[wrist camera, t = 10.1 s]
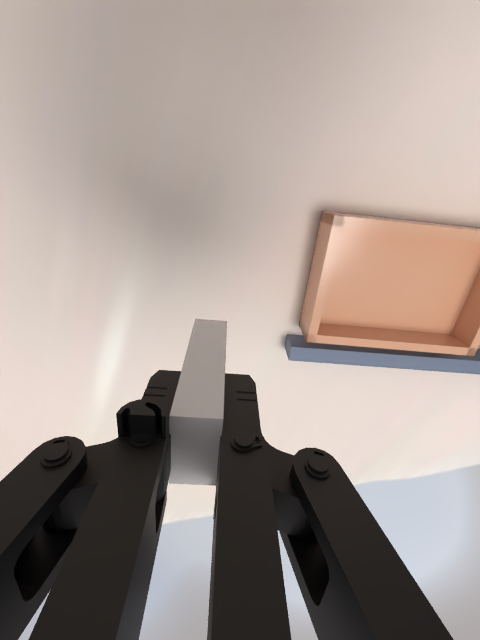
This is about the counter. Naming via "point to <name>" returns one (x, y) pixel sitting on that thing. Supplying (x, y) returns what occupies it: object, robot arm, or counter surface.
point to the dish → (394, 285)
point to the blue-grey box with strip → (379, 357)
